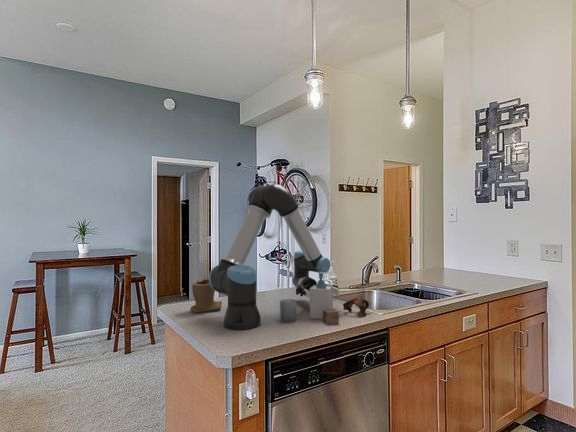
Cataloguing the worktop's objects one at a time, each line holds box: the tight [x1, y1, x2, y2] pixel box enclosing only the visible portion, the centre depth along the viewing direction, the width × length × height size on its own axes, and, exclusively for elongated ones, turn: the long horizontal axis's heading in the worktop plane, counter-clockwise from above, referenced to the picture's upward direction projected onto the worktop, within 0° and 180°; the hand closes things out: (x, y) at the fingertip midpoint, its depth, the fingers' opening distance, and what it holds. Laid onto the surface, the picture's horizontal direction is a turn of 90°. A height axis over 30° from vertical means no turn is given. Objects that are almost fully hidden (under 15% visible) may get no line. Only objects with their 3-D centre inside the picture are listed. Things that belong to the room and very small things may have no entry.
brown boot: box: [190, 278, 223, 313], centre depth 169 cm, size 15×12×15 cm
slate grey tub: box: [279, 298, 298, 323], centre depth 152 cm, size 7×7×8 cm
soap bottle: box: [309, 272, 334, 320], centre depth 157 cm, size 9×9×19 cm
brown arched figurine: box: [342, 297, 370, 318], centre depth 160 cm, size 12×10×8 cm
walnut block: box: [322, 308, 340, 326], centre depth 147 cm, size 5×5×5 cm
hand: (323, 293), depth 154 cm, fingers open, 13 cm apart
